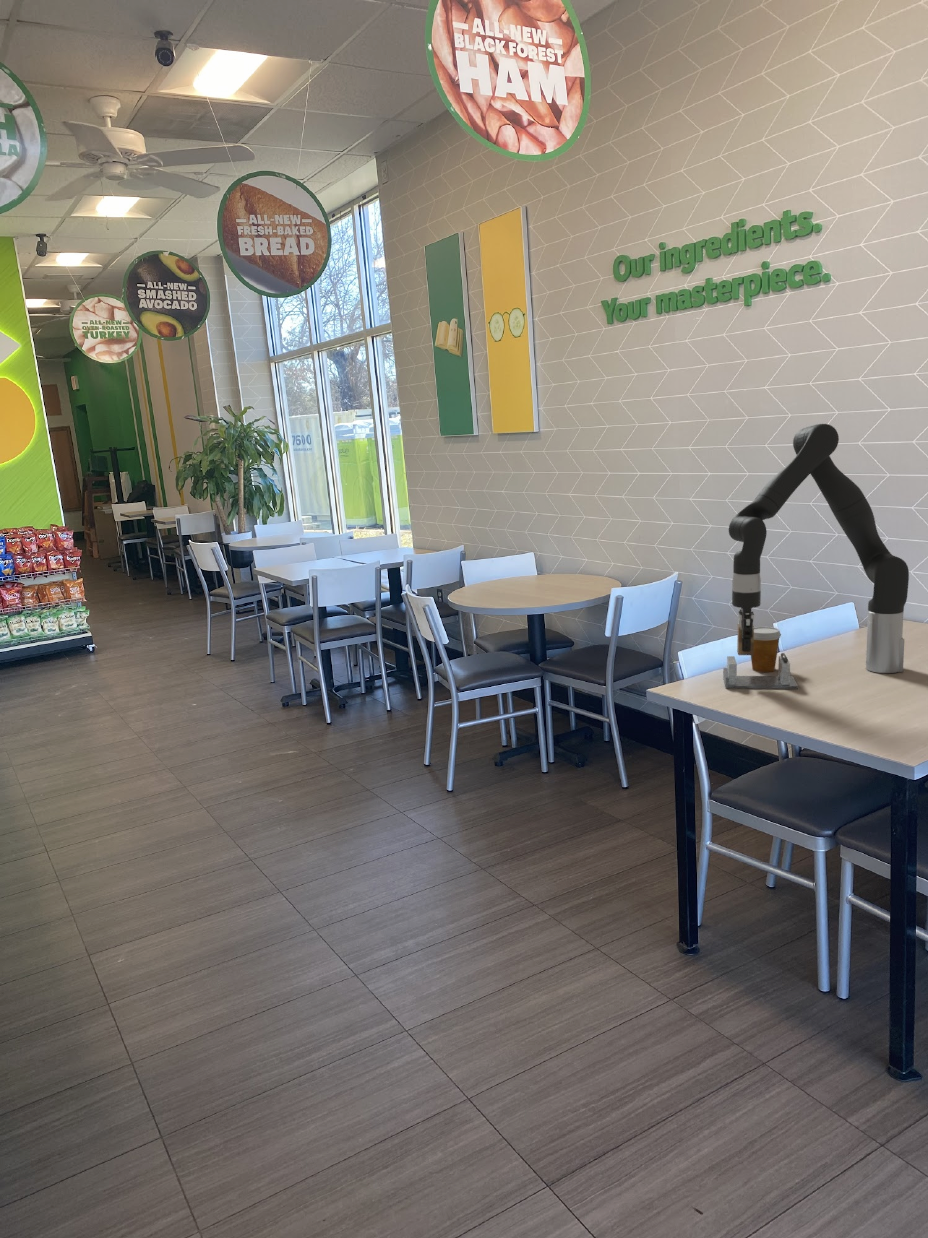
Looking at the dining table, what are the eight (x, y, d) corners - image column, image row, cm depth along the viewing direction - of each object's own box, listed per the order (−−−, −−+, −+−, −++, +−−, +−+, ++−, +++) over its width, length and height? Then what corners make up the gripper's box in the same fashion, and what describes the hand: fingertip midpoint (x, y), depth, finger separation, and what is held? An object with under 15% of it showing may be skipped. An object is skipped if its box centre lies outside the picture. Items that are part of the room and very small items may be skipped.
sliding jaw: (785, 676, 255) (786, 651, 254) (789, 685, 247) (790, 659, 246) (778, 676, 256) (778, 651, 254) (782, 684, 248) (782, 659, 246)
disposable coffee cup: (776, 664, 271) (776, 625, 268) (784, 673, 262) (784, 633, 259) (743, 665, 272) (743, 626, 269) (750, 674, 263) (750, 634, 260)
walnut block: (752, 651, 254) (752, 623, 252) (753, 655, 250) (753, 627, 248) (737, 651, 254) (737, 623, 253) (738, 655, 251) (738, 627, 249)
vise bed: (792, 678, 256) (793, 655, 254) (797, 689, 246) (798, 665, 245) (723, 678, 260) (723, 655, 258) (725, 688, 250) (725, 665, 249)
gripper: (763, 593, 241) (762, 655, 244) (758, 584, 254) (757, 643, 258) (734, 594, 242) (733, 655, 246) (730, 584, 256) (729, 643, 260)
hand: (745, 649), depth 252 cm, fingers closed on walnut block, 4 cm apart
